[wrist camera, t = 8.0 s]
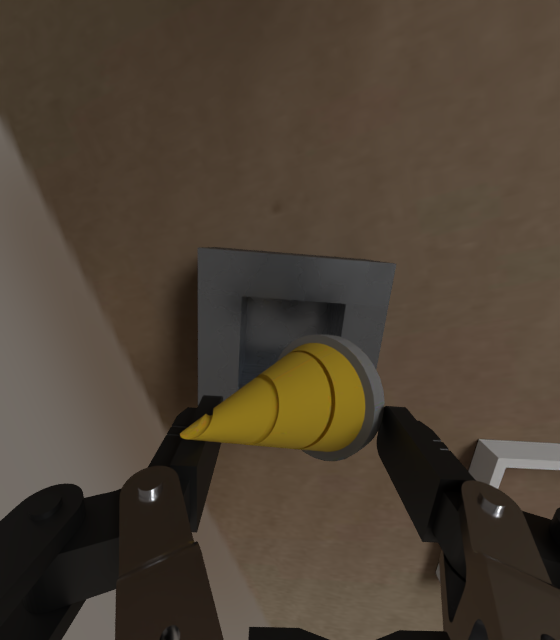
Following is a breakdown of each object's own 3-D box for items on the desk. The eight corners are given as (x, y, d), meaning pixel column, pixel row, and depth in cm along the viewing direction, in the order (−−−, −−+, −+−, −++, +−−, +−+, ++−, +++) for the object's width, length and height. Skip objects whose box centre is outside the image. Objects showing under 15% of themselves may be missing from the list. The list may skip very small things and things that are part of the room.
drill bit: (321, 431, 16) (145, 516, 9) (309, 341, 17) (138, 349, 9) (418, 440, 12) (259, 598, 5) (395, 326, 13) (231, 317, 6)
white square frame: (478, 439, 27) (498, 457, 25) (637, 447, 28) (671, 467, 25) (435, 573, 32) (448, 599, 30) (570, 577, 33) (593, 603, 30)
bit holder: (216, 247, 22) (197, 247, 16) (367, 259, 22) (396, 263, 17) (214, 384, 25) (198, 422, 20) (345, 392, 25) (364, 431, 20)
